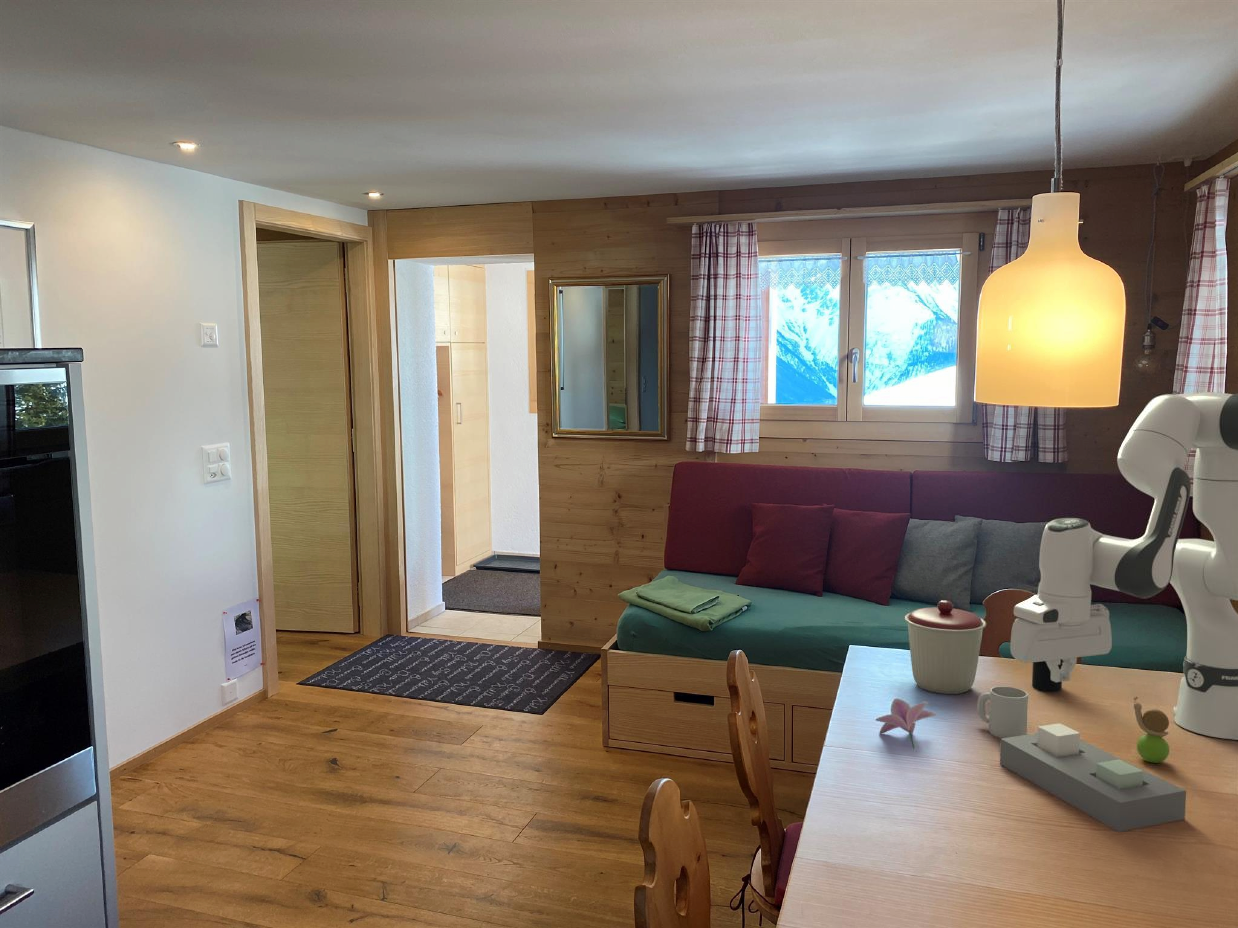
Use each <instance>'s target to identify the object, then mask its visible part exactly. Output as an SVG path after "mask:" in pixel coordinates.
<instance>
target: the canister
mask: <svg viewBox="0 0 1238 928" xmlns="http://www.w3.org/2000/svg"><path fill="white" fill-rule="evenodd" d="M904 621H905V622H906V623H907V629H908V642H909V652H910V661H911V671H912V676H913V680H914V681H915V684H916V685H918V686H919V687H920V688H921V689H923V690H926V691H928V692H932V693H937V694H942V695H943V694H945V695H959V694H963V693H967V692H968V691H970V690H971V689H972V687H973V686H974V683H975V680H976V675H977V674H976V673H977V668H978V663H979V659H980V658H979V656H980V652H981V651H980V650H981V643H982V636H983V630H984V628H986V627H987V622H986V620H984V619H983V618H981V617H979V615H977V614H975V613H974V612H970V611H967V610H963V609H959V608H954V604H953V602H951V601H950V600H946V599H945V600H944V599H943V600H939V602H937V606H936V607H935V606H934V607H932V606H931V607H923V608H918V609H914V610H913V611H911V612H909V613H907V614H906V615H905V616H904Z"/></svg>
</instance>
